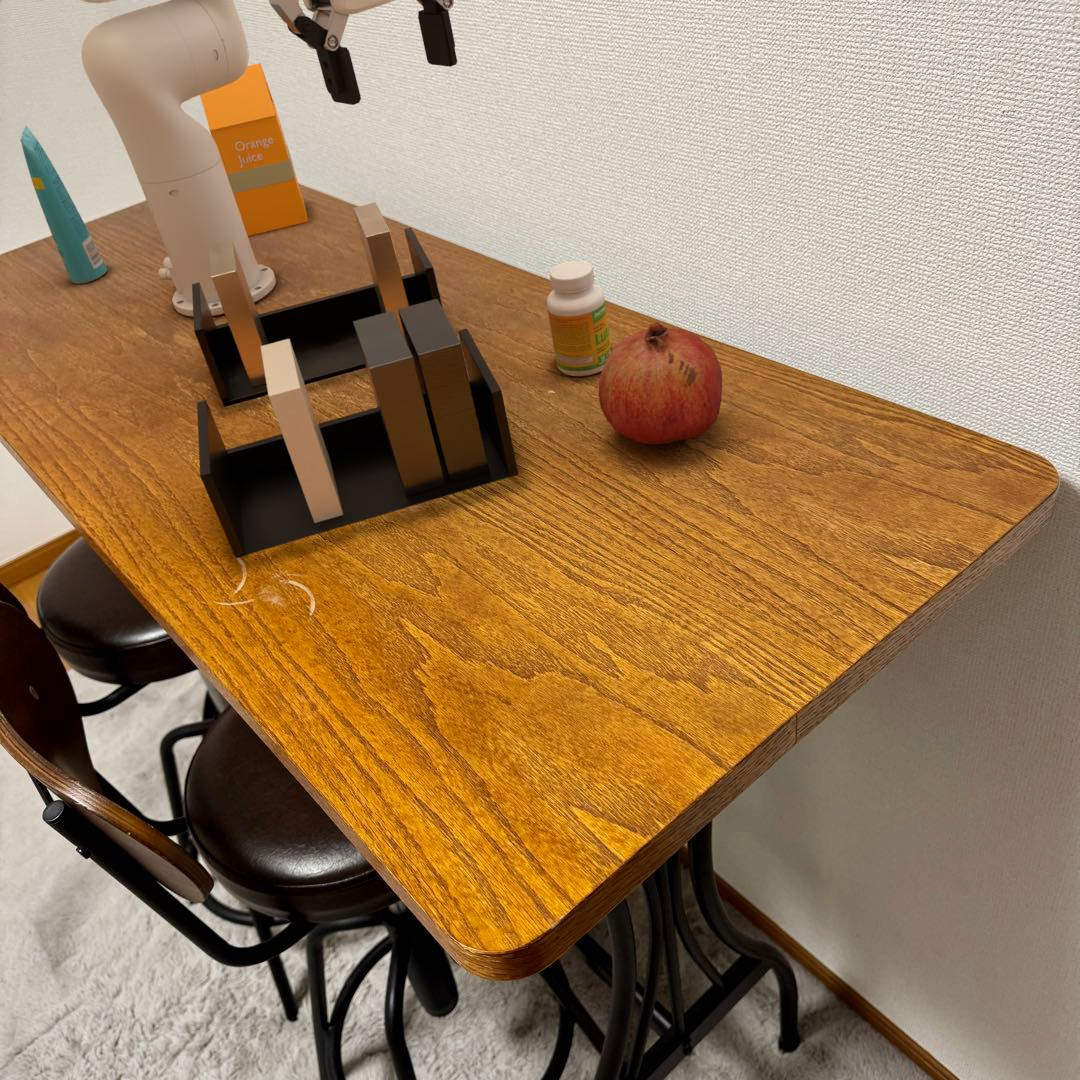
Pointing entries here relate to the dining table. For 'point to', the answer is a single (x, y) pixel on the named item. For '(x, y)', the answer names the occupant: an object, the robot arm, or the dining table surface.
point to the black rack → (373, 438)
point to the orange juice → (254, 153)
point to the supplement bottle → (578, 319)
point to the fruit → (661, 386)
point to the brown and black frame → (304, 314)
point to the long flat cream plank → (300, 430)
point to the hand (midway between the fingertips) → (396, 82)
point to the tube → (62, 215)
